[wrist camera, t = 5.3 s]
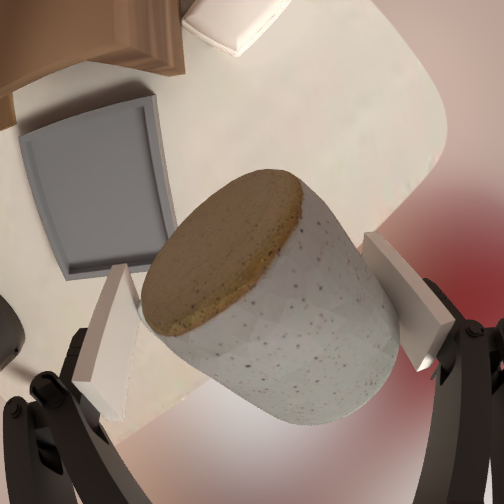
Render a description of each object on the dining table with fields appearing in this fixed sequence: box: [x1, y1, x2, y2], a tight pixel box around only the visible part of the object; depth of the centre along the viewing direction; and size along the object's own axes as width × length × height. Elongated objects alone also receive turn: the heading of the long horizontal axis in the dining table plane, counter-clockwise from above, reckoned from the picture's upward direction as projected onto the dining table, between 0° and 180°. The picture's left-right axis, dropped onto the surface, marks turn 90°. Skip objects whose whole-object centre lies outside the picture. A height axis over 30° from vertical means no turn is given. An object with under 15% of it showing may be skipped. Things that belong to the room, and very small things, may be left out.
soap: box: [181, 0, 291, 57], centre depth 18 cm, size 9×7×3 cm
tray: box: [19, 95, 178, 281], centre depth 25 cm, size 14×17×2 cm
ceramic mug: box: [138, 169, 400, 425], centre depth 11 cm, size 11×8×8 cm
